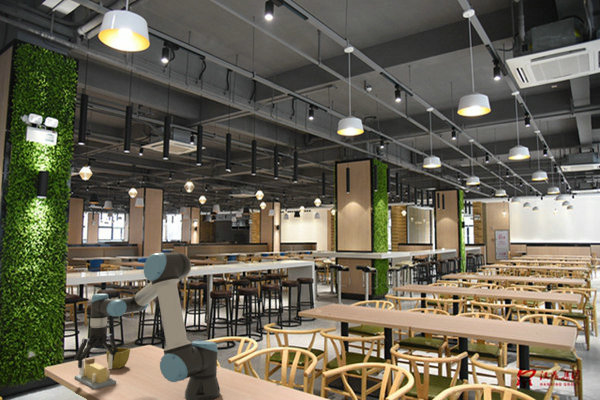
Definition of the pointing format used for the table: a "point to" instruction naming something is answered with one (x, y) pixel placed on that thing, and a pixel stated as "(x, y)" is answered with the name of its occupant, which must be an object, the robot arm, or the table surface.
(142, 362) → the table surface
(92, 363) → the pale yellow block
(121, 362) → the flower pot
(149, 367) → the table surface
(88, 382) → the peg board
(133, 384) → the table surface
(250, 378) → the table surface
